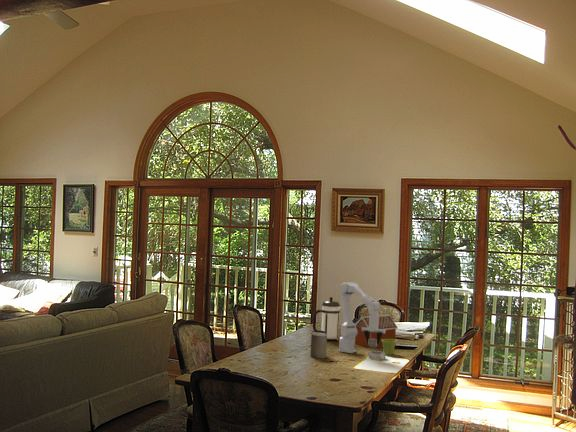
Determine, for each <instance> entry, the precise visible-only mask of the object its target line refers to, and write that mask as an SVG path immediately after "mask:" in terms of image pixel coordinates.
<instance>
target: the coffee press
mask: <svg viewBox="0 0 576 432" xmlns="http://www.w3.org/2000/svg"><path fill="white" fill-rule="evenodd" d="M341 310H342V305H341V304H340V302H339V301H336V300H333V296H330V297H329V300H328V299H327V300H324V301H322V303H321V309H317V310H315V311H314V313H313V315H312V316H313V317H312V329H313V331H314V333H325V334H327V340H336V341H337V342H339V340H340V337H339V333H340V332H339V327H340V311H341ZM319 313H321V330H319V329H316V328H317V327H316V323H317V321H316V319H317V315H318V314H319Z"/></svg>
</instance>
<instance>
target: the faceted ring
mask: <svg viewBox="0 0 576 432" xmlns="http://www.w3.org/2000/svg"><path fill="white" fill-rule="evenodd" d="M367 356H368V359H370V360H373V361H374V360H375V361H384V360H385V359H386V353H385V352H384V351H383V350H382V351H381V350H370V351H368V354H367Z"/></svg>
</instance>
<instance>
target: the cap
mask: <svg viewBox="0 0 576 432" xmlns="http://www.w3.org/2000/svg"><path fill="white" fill-rule="evenodd" d="M368 344H369V347H372V348H371V349H373V348H378V347H377V339H368Z"/></svg>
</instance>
